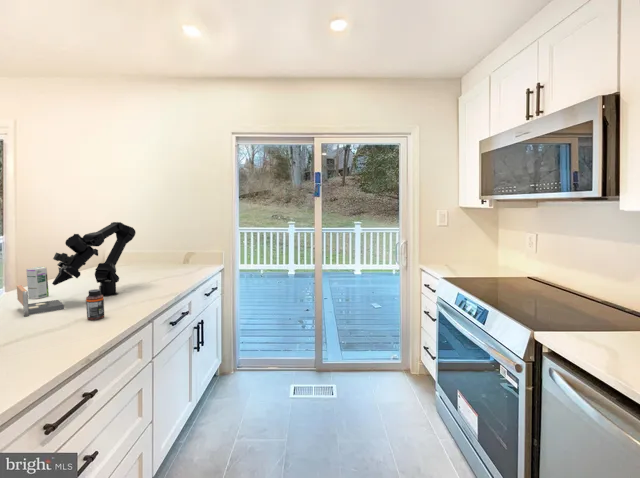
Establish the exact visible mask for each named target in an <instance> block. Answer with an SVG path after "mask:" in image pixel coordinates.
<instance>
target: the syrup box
mask: <svg viewBox="0 0 640 478" xmlns="http://www.w3.org/2000/svg"><path fill="white" fill-rule="evenodd" d="M25 271H26V282H27V283H26V284H27V291H28V299H35V300H38V299H43V298H46V297H49V295H50V294H49V293H50V292H49V285H48V284H49V281H48V268H47V266H36V267H30V268H26V270H25Z"/></svg>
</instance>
